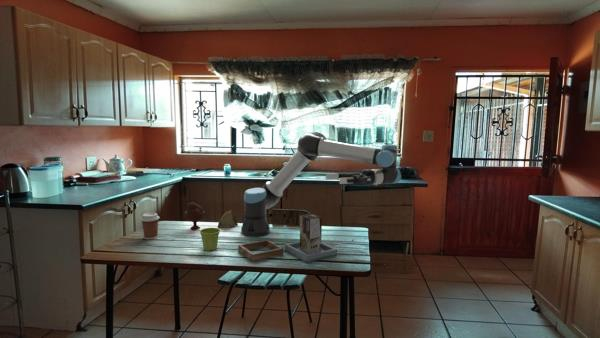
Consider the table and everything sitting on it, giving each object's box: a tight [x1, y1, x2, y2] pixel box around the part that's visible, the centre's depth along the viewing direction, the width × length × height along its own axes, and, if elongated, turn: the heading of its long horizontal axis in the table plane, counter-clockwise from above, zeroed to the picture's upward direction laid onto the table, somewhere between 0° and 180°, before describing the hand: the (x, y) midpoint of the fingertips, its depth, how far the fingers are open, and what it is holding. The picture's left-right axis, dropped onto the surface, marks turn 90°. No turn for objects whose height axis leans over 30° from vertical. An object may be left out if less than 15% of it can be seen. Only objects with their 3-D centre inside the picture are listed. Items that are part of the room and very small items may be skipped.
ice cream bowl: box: [183, 201, 206, 231], centre depth 200 cm, size 11×11×15 cm
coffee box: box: [299, 213, 323, 254], centre depth 161 cm, size 9×6×16 cm
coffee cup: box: [140, 212, 161, 240], centre depth 184 cm, size 9×9×12 cm
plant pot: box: [199, 227, 221, 252], centre depth 168 cm, size 9×9×9 cm
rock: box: [217, 209, 239, 228], centre depth 206 cm, size 11×9×10 cm
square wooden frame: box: [237, 239, 284, 262], centre depth 162 cm, size 15×15×3 cm
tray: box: [284, 240, 338, 264], centre depth 162 cm, size 18×16×3 cm
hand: (332, 178), depth 167 cm, fingers open, 13 cm apart
